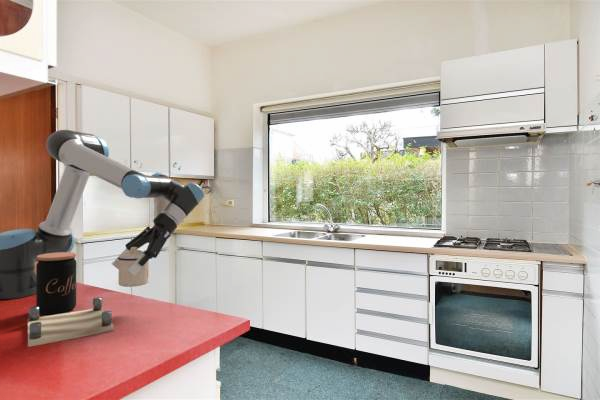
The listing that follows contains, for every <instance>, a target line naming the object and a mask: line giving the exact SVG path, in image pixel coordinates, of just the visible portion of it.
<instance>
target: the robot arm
mask: <svg viewBox="0 0 600 400" xmlns="http://www.w3.org/2000/svg"><path fill="white" fill-rule="evenodd" d="M45 144H46V145H45V147H46V150H47V151H46V152H47V153H48V154H49V156H51V158H53V159H54V160H56V161H58V162H61V164H63V165H64V166H65V168H64V170H63V173H62V176H61V179H60V181H59V185H58V186H57V189H56V192H55V194H54V198H53V200H52V203H51V205H50V208H49V211H48V214H47V216H46V219H45V220H44V221H43V222H40V223H39V225H38V227H37V230H34V229H33V228H20V229H13V230H8V231H3V232H0V300H10V299H11V300H12V299H18V298H24V297H29V296H33V295H36V263H38V260H37V258H36V257H37V256H38V255H41V254H47V253H57V252H72V251H73V249H74V247H75V243H76V241H75V236H74V233H73V229H72V228H71V225H72V223H73V219H74V216H75V214H76V211H77V209H78V206H79V204H80V201H81V199H82V196H83V193H84V191H85V188H86V185H87V183H88V181H89V178H90V175H93V176H95V177H97V178H99V179H101V180H102V181H105V182H107V183H109V184H111V185H113V186H115V187H117V188H119V189H121V190H122V192H123V194H124V195H125V196H126V197H129V198H134V199H145V198H146V199H149V198H151V199H152V198H153V199H155V198H157V199H160V198H162V199H164V200H166V201H168V204H167V205H166V206H165V207H164V208H162V210H161V212H160V213H158V214H157V215H156V217H154V219H153V220H152V222H153V223H154V225H153V226H152V227H150V226H146V228H145V229H144V230H142V231H141V232H140V233H139V234H137V235H136V236H135V237H134V238H132V239H131V240H130V241H129V242H127V243H126V244H125V249H124V250H123V251H122V252H121V253H120V254H119V255H121V254H124V253H126V252H127V251H129V250H131V247H137V250H139V249H141V247H143V246H144V245H146V244H148V245H147V247H146V250H144V251H142V252H143V253H144V254H145V255H144V254H142V255H141V256H140V257H139V258H138V259H137V260H136V261H135V262H134V263H133V264H132V266H131V267H130V268H129V269H128V271H129V272H130V273H131V274H132V275H133V276H135V275H136V274H137V273H138V272H139V270H140V269H141V268H142V267H143V266H144V265H145V264H146V263H147V262H148V260H151V259H156V258H157V257H158V256H159V255H160V253H161V251H162V249H163V247H164V245H165V244H166V242H167V241H168V239H169V238H170V237H171V236H172V234H173V232H174V231H175V230H176V229H177V228H178V226H180V224H181V223H184V220H185V219H186V218H187V217H188V215H189V214H190V213H192V211H193V210H194V209H195V208H196V207H197V206H199V204H200V203H201V201H202V200H203V198H204V197H205V192H204V190H203V189H202V187H200V185H198V184H197V183H195V182H188V183H187V184H186V185H184V184H182V183H180V182H178V181H177V180H175V179H173V178H171V177H170V176H168V175H167V174H164V173H162V172H155V173H153V174H151V175H148V174H147V175H146V174H144V173H142V172H139V171H136V169H134V168H131V167H130V166H127V165H125V164H123V163H120V162H119V161H117V160H114V159H112V158H110V157H109V155H110V148H109V147H108V143H107V142H106V140H104V138H102V137H100V136H98V135H95V134H92V133H86V132H80V131H74V130H70V129H60V130H57V131H54V132H53V133H51V134H50V135H49V136H48V137H47V140H46V143H45ZM111 265H112V266H113V267H114V268H116V269H117V270H119V259H118V257H116V259H114V261H112V263H111Z"/></svg>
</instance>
